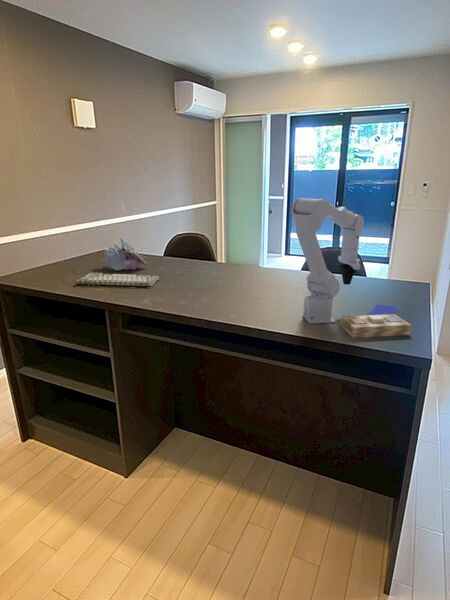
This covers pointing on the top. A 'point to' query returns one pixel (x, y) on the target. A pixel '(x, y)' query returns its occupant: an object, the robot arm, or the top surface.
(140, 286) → the mechanical keyboard
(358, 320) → the terracotta key
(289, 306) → the top surface
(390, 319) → the slate key
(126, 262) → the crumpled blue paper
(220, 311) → the top surface
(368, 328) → the key panel
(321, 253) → the robot arm
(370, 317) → the white key
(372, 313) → the hard drive
